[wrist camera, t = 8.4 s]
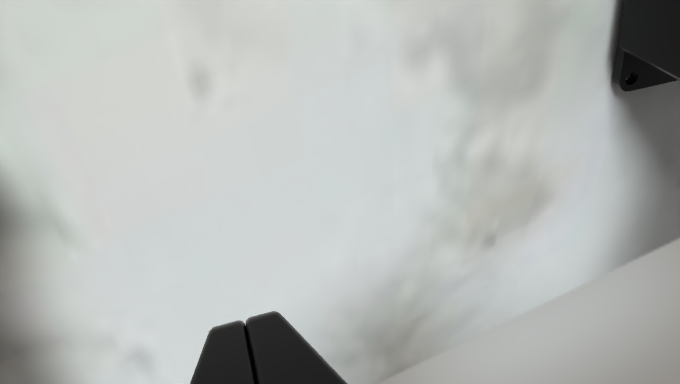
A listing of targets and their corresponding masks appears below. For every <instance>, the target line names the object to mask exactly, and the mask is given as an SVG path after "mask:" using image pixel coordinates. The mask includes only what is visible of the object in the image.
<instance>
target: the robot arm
mask: <svg viewBox="0 0 680 384" xmlns="http://www.w3.org/2000/svg"><path fill="white" fill-rule="evenodd" d="M630 73H631V75H630V77H629V78H628V79H627V80H626V78H627V76H628V75H629V74H630ZM676 80H680V0H625V4H624V10H623V16H622V23H621V29H620V36H619V42H618V49H617V55H616V61H615V68H614V74H613V83H614V84H615V86H617V87H619V88H620V89H622V90H624V91H632V90H637V89H641V88H645V87H650V86H654V85H659V84H663V83H667V82H672V81H676ZM190 384H347V383H346V382H345V381H344V380H343V379H342V378H341V377H340V376H339V375H338V373H337V372H336V371H335V370H334V369H333V368H332V367H331V366H330V365H329V364H328V363H327V362H326V361H325V360H324V359H323V358H322V357H321V356H320V355H319V354H318V353H317V352H316V350H315V349H314V348H313V347H312V346H311V345H310V344H309V343H308V342H307V341H306V340H305V339H304V338H303V337H302V336H301V335H300V334H299V333H298V332H297V331H296V330H295V328H294V327H293V326H292V325H291V324H290V323H289V322H288V321H287V320H286V319H285V318H284V317H283V316H282V315H281V314H280V313H278V312H276V311H272V312H268V313H265V314H261V315H257V316H253V317H250V318H248V319H247V320H246V326H245V323H244V322H243V321H235V322H231V323H227V324H224V325H220V326H216V327H214V328H212V329H211V330H210V332H209V334H208V336H207V339H206V342H205V344H204V347H203V350H202V353H201V355H200V358H199V361H198V363H197V366H196V369H195V372H194V374H193V377H192V380H191V383H190Z"/></svg>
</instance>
